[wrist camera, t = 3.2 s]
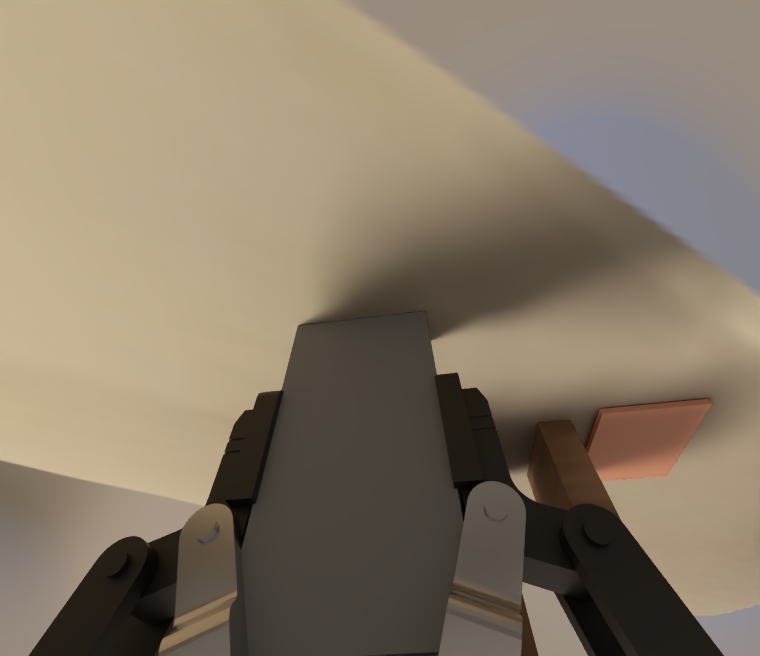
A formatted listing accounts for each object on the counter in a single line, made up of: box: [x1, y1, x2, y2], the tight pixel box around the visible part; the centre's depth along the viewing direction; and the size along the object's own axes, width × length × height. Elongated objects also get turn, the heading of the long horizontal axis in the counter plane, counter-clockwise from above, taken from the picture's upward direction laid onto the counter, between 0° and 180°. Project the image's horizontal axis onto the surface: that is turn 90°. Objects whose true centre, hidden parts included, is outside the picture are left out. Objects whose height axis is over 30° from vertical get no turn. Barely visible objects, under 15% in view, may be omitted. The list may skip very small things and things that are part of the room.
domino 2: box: [527, 420, 621, 520], centre depth 16 cm, size 2×5×10 cm, turn 8°
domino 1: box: [241, 311, 464, 656], centre depth 11 cm, size 2×5×10 cm, turn 98°
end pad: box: [585, 399, 713, 481], centre depth 20 cm, size 5×6×1 cm
